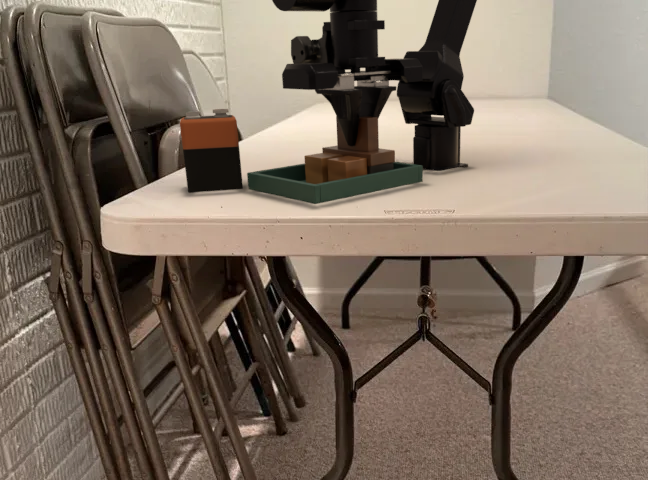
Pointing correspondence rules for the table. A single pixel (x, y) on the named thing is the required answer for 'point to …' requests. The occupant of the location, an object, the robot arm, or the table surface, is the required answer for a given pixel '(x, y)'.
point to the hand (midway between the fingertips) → (357, 144)
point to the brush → (365, 146)
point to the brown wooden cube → (318, 167)
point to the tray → (295, 187)
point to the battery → (211, 151)
